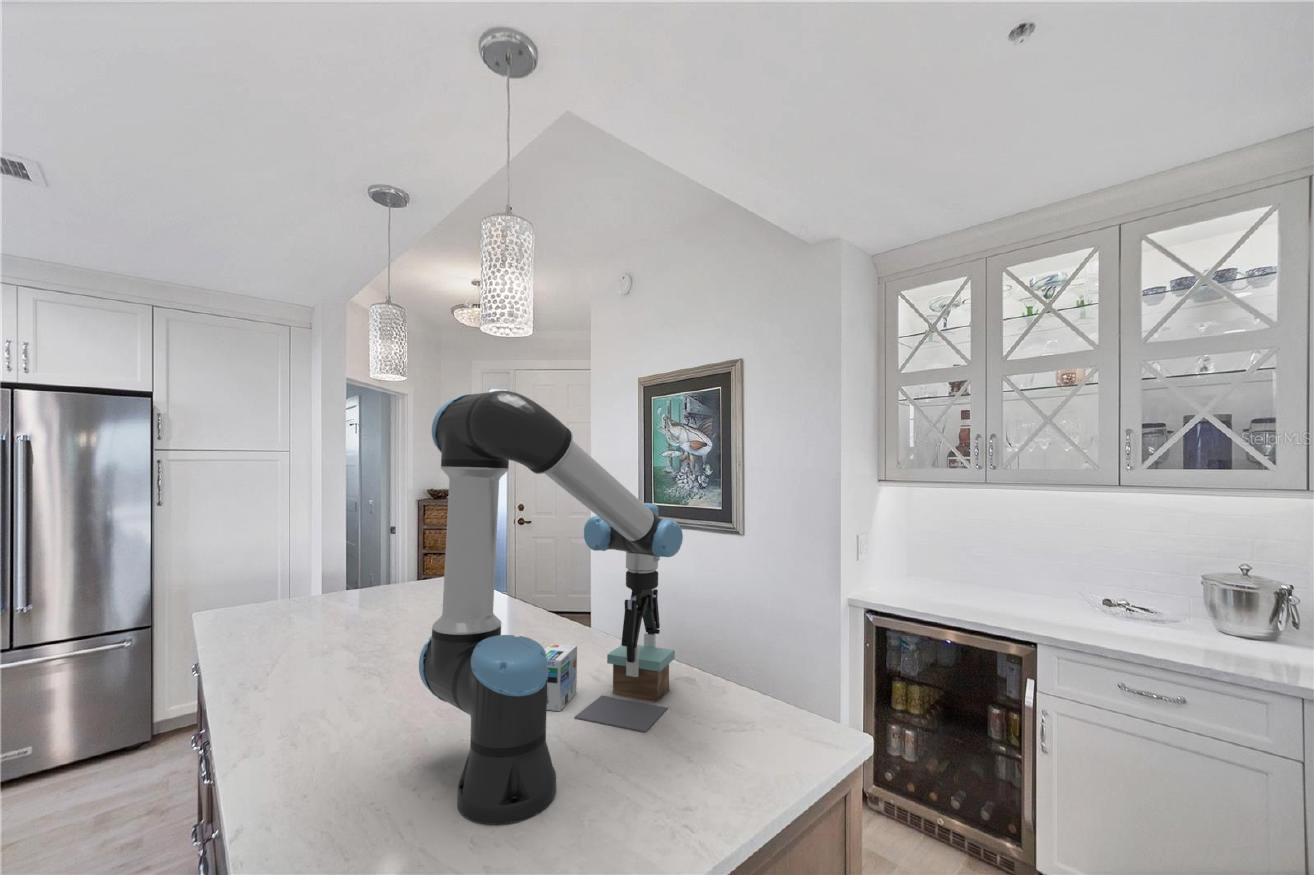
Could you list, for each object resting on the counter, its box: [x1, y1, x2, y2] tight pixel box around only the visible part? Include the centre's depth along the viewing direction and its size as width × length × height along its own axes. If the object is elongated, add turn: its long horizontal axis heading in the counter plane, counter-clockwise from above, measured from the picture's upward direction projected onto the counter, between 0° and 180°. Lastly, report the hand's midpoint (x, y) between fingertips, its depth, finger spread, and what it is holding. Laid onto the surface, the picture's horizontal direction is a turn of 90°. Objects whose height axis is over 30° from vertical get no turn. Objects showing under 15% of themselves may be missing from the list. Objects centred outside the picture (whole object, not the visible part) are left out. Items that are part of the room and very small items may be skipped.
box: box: [612, 663, 670, 703], centre depth 132 cm, size 7×11×7 cm, turn 67°
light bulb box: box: [544, 643, 578, 712], centre depth 127 cm, size 11×7×11 cm, turn 168°
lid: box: [606, 644, 676, 671], centre depth 133 cm, size 9×13×3 cm
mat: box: [573, 695, 669, 734], centre depth 121 cm, size 12×16×1 cm
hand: (641, 668), depth 132 cm, fingers closed on lid, 9 cm apart
